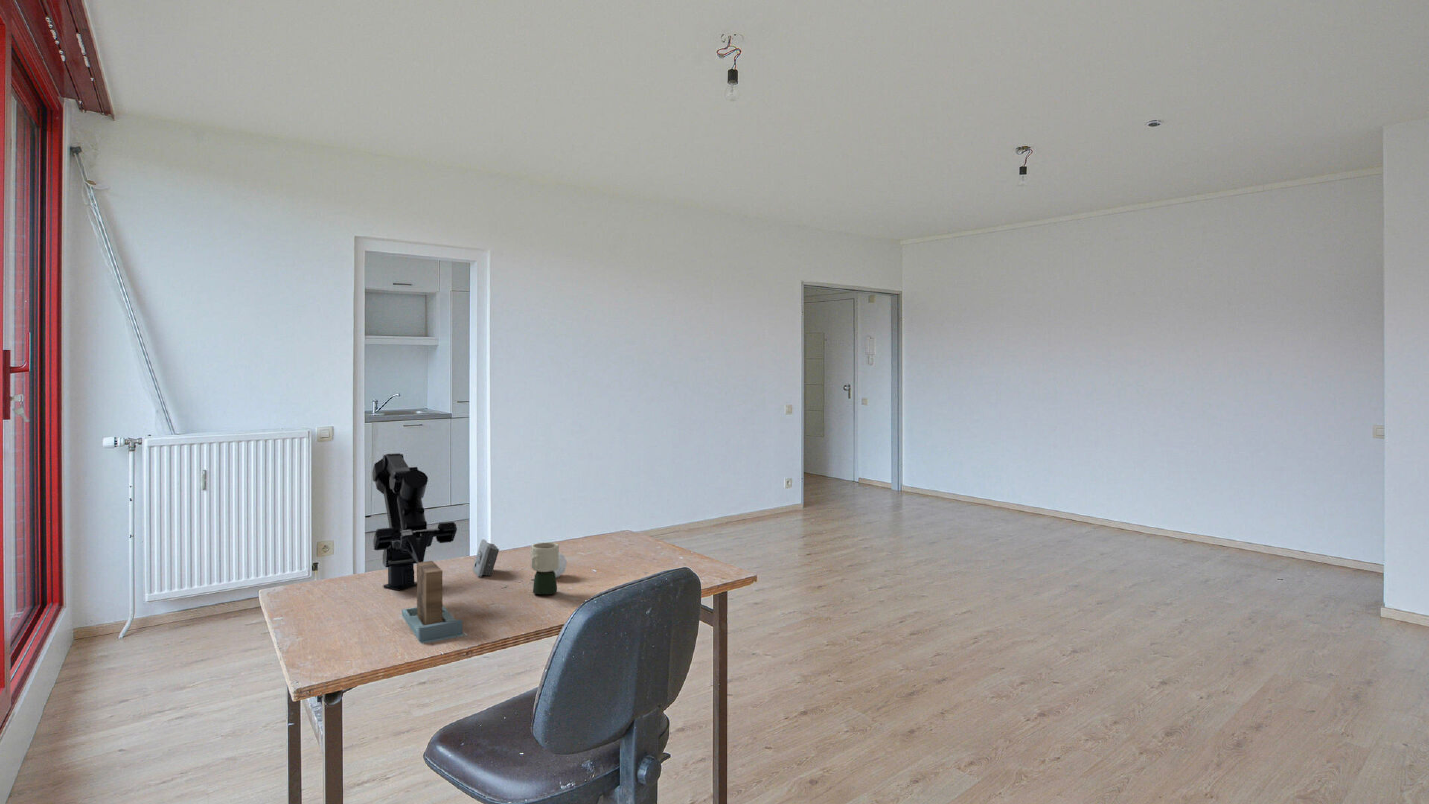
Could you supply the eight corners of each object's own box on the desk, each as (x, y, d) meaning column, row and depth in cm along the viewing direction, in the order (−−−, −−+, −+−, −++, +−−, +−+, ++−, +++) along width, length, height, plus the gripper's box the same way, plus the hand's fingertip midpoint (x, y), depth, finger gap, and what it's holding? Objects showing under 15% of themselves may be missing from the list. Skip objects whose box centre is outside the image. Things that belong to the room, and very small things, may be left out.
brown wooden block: (417, 616, 173) (416, 562, 172) (432, 614, 174) (432, 560, 174) (426, 629, 164) (426, 572, 164) (442, 627, 166) (442, 570, 166)
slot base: (401, 617, 174) (401, 602, 173) (441, 611, 179) (441, 596, 178) (420, 646, 156) (420, 629, 156) (463, 638, 161) (463, 622, 161)
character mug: (546, 586, 200) (546, 539, 200) (568, 589, 197) (568, 542, 197) (520, 597, 190) (521, 548, 190) (543, 601, 187) (543, 551, 187)
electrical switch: (472, 570, 215) (475, 538, 215) (490, 569, 218) (493, 538, 218) (478, 578, 207) (481, 545, 207) (496, 578, 209) (500, 545, 209)
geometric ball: (548, 585, 210) (546, 559, 215) (572, 577, 209) (570, 551, 213) (534, 578, 204) (532, 551, 208) (559, 570, 203) (557, 543, 207)
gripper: (444, 525, 195) (454, 576, 187) (367, 533, 185) (375, 587, 176) (451, 501, 188) (462, 553, 180) (372, 508, 178) (380, 563, 169)
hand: (420, 564), depth 176 cm, fingers closed
